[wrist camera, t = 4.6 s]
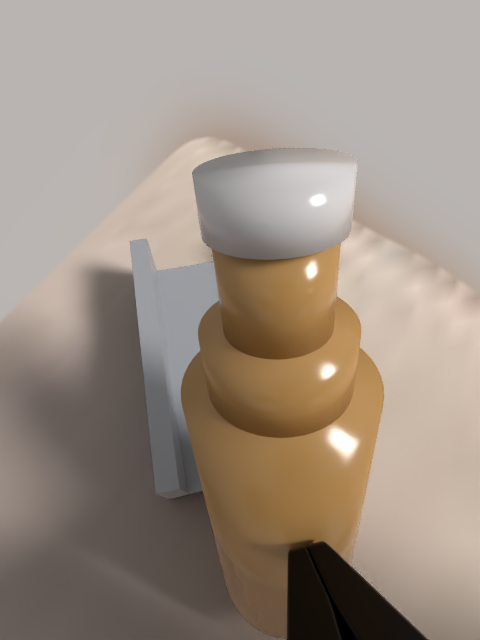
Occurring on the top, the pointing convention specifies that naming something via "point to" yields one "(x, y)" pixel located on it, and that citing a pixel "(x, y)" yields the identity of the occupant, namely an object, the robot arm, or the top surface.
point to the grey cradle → (170, 359)
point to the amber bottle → (279, 371)
